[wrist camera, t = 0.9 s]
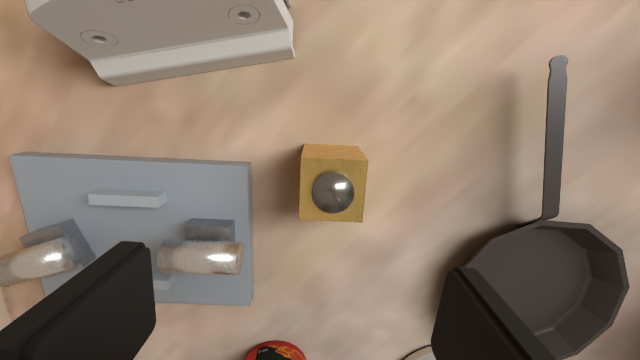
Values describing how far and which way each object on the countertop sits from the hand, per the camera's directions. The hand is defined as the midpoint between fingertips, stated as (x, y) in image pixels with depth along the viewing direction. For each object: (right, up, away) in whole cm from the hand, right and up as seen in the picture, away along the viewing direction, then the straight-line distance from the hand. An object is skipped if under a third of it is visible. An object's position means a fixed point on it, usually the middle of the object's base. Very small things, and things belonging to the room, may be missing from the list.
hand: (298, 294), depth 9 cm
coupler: (+2, +5, +19) cm, 20 cm away
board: (-17, -1, +21) cm, 27 cm away
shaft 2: (-9, -2, +21) cm, 23 cm away
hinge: (-10, +17, +16) cm, 25 cm away
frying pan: (+21, -1, +21) cm, 30 cm away
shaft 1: (-24, -2, +21) cm, 32 cm away
